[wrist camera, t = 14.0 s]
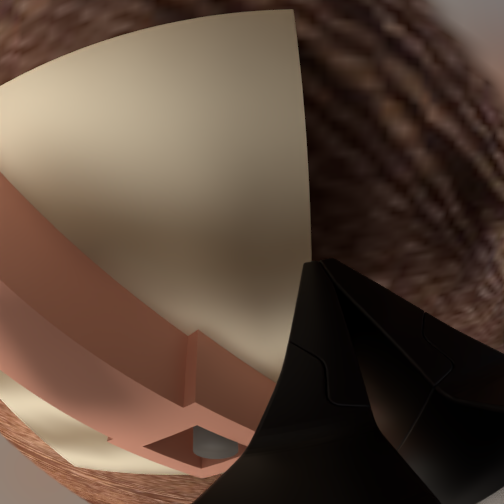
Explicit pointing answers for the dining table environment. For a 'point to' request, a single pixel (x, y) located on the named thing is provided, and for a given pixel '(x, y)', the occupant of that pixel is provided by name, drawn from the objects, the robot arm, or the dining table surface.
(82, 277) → the link
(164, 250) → the board
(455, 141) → the dining table surface
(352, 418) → the robot arm
